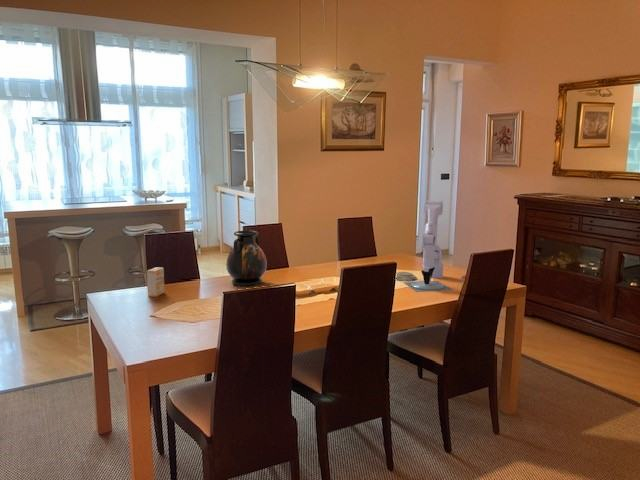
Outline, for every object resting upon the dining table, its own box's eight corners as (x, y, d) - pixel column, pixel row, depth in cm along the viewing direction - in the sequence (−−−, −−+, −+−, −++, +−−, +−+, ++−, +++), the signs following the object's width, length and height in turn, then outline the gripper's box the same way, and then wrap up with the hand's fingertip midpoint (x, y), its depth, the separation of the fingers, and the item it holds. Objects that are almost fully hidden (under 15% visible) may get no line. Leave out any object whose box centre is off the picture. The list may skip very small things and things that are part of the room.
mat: (437, 281, 281) (437, 280, 281) (453, 290, 261) (453, 290, 261) (402, 283, 277) (402, 282, 277) (416, 292, 258) (416, 291, 258)
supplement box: (156, 297, 248) (155, 270, 246) (147, 296, 249) (146, 270, 247) (165, 292, 256) (164, 267, 254) (156, 292, 257) (155, 266, 255)
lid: (413, 281, 280) (414, 270, 279) (445, 283, 274) (446, 273, 273) (408, 288, 264) (409, 277, 263) (442, 291, 258) (442, 280, 257)
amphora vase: (249, 290, 261) (248, 236, 256) (218, 285, 272) (216, 232, 267) (275, 281, 279) (274, 231, 274) (244, 277, 290) (243, 228, 286)
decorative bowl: (422, 279, 288) (399, 275, 297) (422, 273, 287) (399, 269, 296) (409, 284, 276) (385, 280, 285) (409, 277, 276) (385, 273, 285)
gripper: (434, 260, 258) (433, 286, 261) (438, 255, 272) (437, 279, 274) (420, 259, 261) (419, 285, 263) (424, 254, 274) (423, 278, 276)
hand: (427, 282), depth 269 cm, fingers open, 7 cm apart
